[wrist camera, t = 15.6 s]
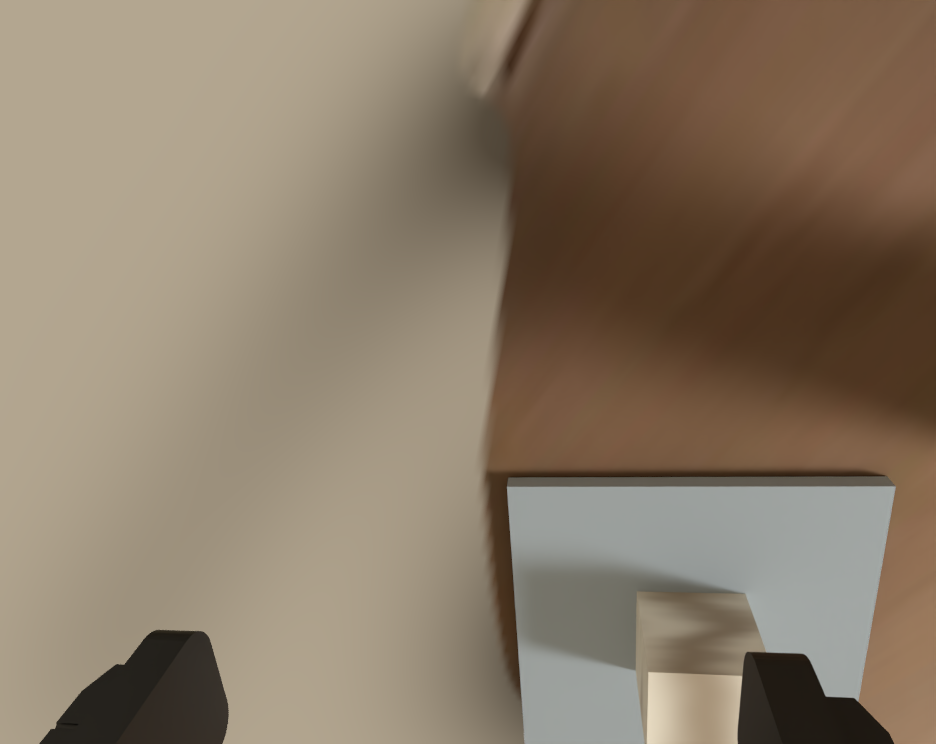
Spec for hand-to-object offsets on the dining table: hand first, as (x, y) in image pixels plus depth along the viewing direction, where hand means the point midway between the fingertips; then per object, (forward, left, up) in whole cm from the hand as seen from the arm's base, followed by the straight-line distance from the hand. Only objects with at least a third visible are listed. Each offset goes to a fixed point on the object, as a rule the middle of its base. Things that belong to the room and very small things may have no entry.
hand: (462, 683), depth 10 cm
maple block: (-8, +22, -25) cm, 34 cm away
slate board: (-8, +22, -26) cm, 35 cm away
